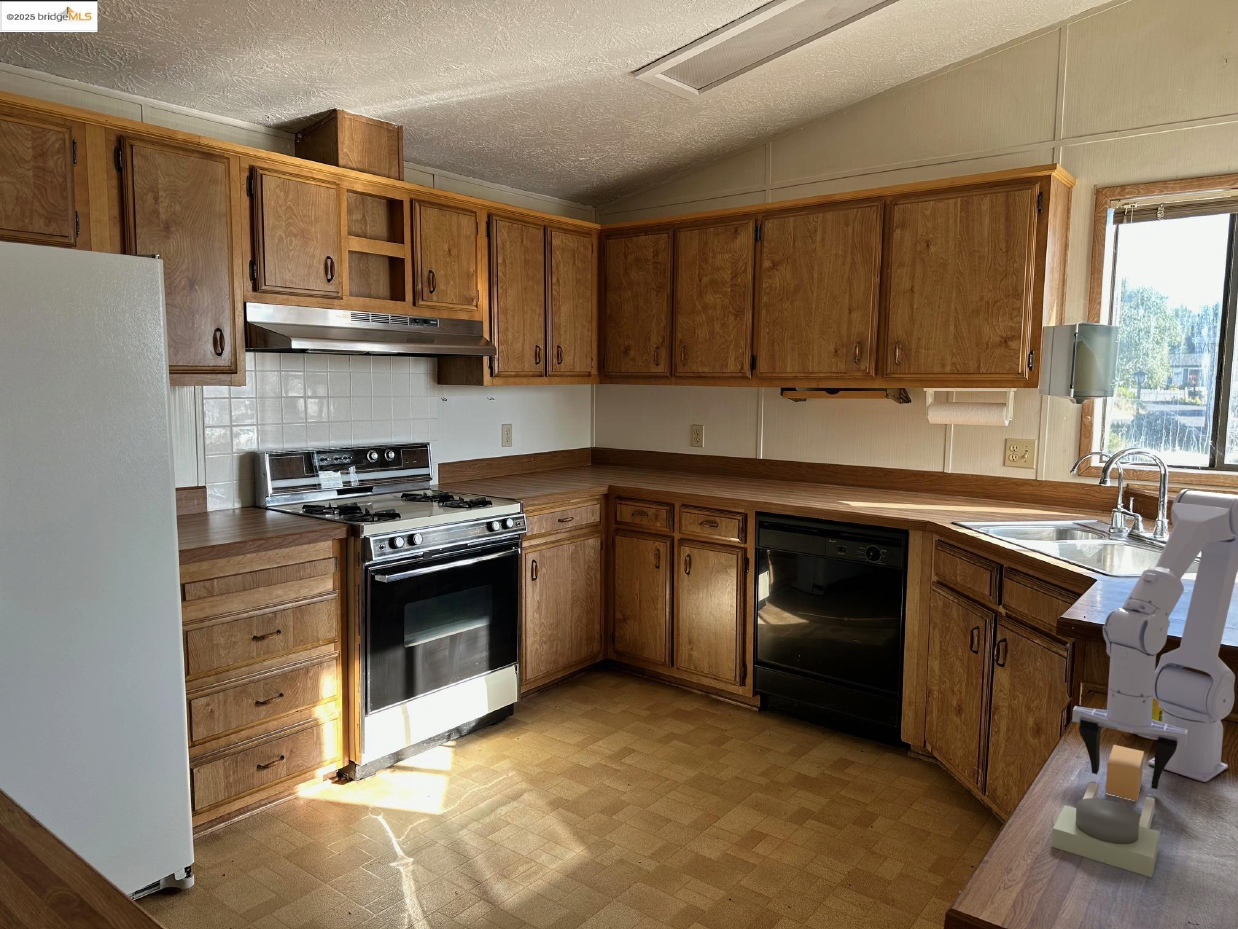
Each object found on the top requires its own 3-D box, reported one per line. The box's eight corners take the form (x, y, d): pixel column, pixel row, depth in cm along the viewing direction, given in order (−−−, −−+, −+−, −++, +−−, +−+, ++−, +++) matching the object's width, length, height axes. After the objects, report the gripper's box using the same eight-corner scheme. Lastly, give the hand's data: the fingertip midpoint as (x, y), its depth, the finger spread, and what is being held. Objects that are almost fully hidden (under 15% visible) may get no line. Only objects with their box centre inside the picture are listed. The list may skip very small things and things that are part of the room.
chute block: (1111, 776, 129) (1113, 744, 129) (1141, 783, 127) (1143, 751, 127) (1105, 795, 123) (1107, 762, 123) (1137, 803, 121) (1139, 770, 120)
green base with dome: (1078, 792, 123) (1080, 759, 123) (1166, 816, 117) (1169, 781, 116) (1051, 846, 108) (1054, 809, 108) (1152, 877, 101) (1154, 838, 101)
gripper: (1070, 686, 125) (1065, 774, 126) (1187, 709, 116) (1180, 803, 117) (1079, 674, 131) (1073, 758, 132) (1190, 696, 122) (1184, 786, 123)
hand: (1124, 779), depth 125 cm, fingers open, 7 cm apart
